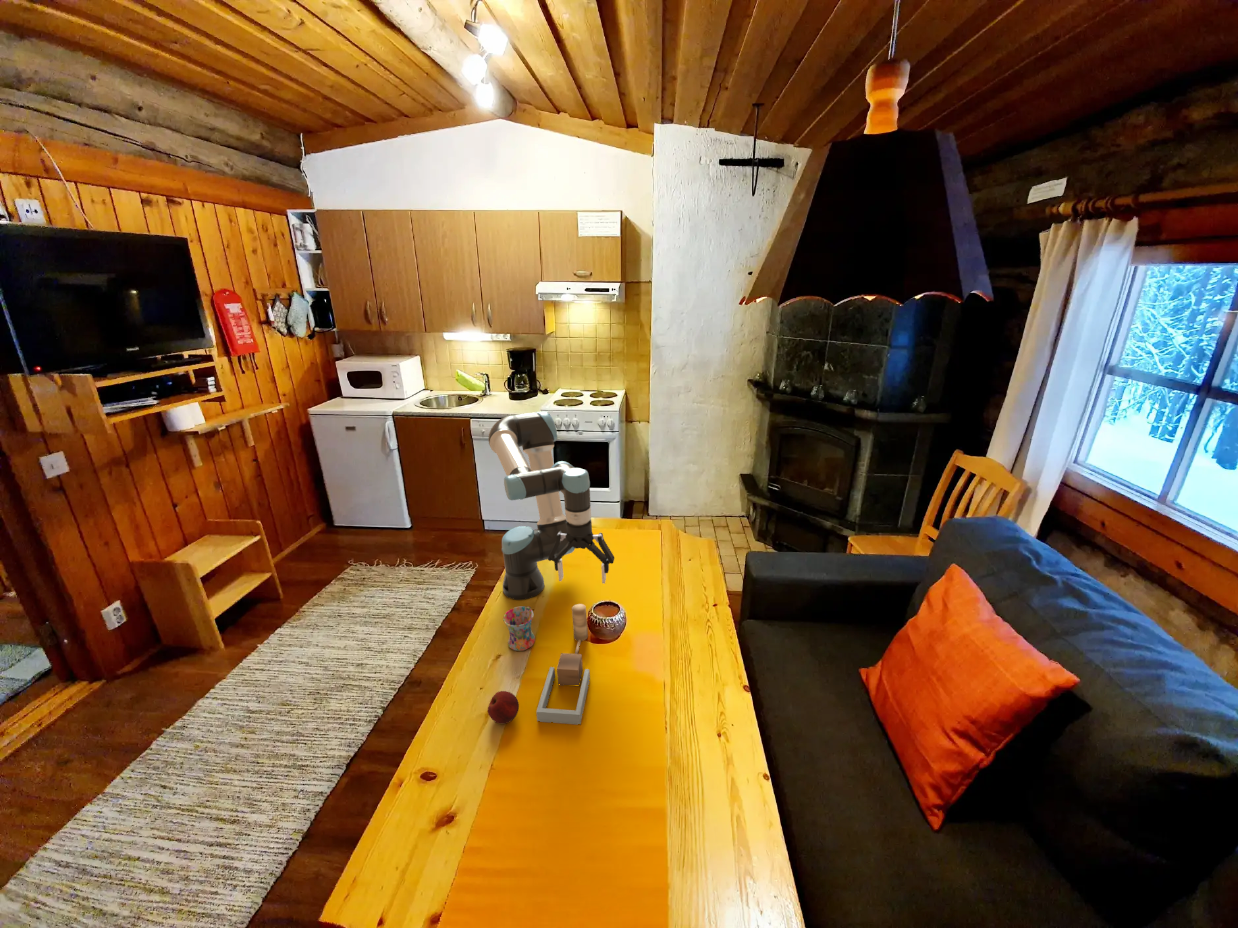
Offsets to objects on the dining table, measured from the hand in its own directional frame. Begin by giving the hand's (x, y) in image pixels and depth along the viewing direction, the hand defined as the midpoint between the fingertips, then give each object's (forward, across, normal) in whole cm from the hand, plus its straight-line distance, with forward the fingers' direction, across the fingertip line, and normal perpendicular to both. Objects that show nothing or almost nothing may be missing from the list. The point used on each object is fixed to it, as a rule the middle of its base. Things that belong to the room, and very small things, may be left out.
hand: (582, 579), depth 151 cm
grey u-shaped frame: (+19, -1, -27) cm, 33 cm away
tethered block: (+20, -1, -12) cm, 23 cm away
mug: (+20, -19, -6) cm, 28 cm away
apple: (+20, -15, -35) cm, 43 cm away
